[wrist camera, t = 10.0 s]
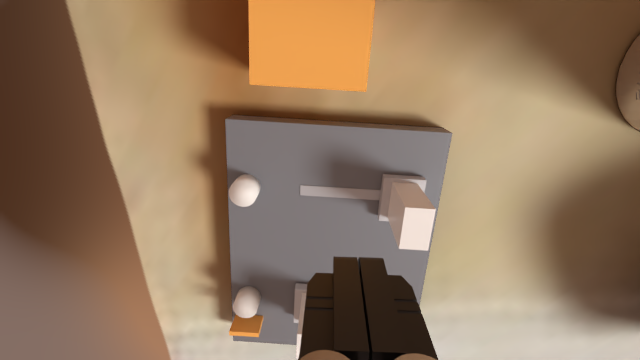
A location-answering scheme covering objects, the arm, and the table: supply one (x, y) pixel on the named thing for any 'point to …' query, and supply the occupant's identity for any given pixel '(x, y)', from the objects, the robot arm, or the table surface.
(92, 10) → the table surface
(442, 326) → the table surface
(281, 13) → the orange block
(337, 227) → the breaker panel
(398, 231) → the untagged breaker
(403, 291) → the robot arm
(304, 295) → the block
